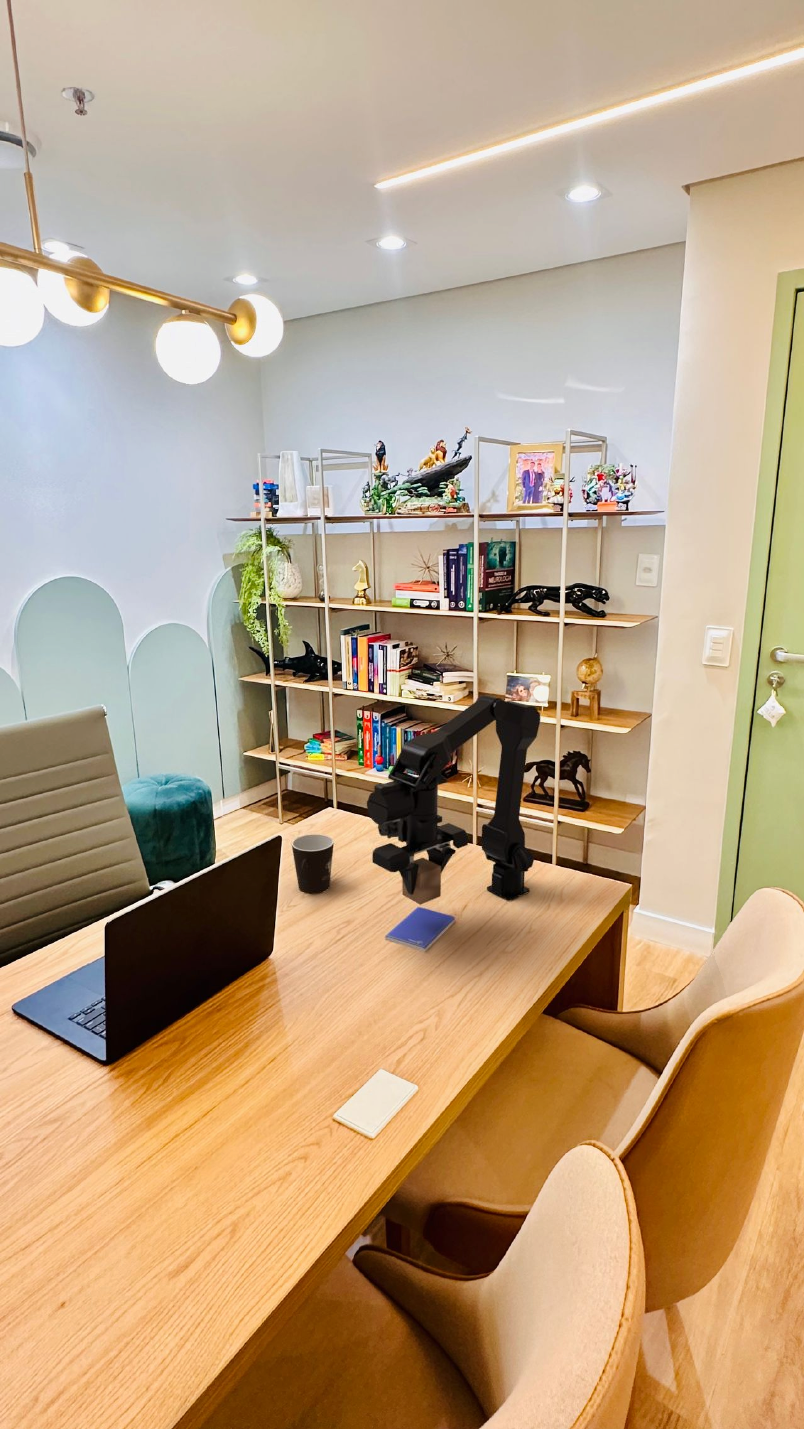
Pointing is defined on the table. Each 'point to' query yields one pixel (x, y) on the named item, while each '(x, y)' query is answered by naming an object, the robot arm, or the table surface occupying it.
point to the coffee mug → (313, 862)
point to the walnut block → (425, 882)
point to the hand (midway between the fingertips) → (421, 889)
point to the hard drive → (420, 929)
